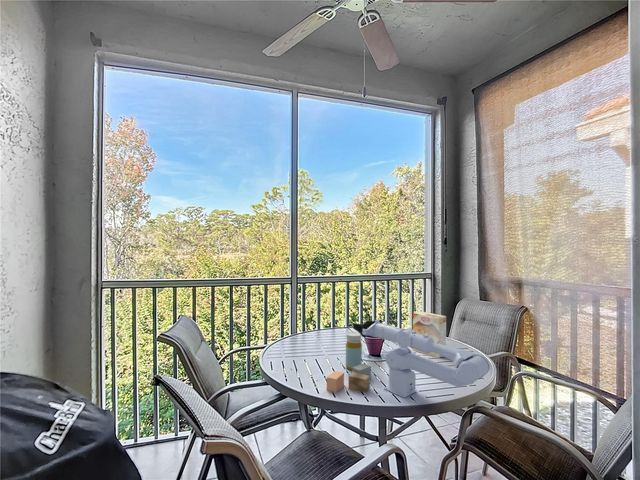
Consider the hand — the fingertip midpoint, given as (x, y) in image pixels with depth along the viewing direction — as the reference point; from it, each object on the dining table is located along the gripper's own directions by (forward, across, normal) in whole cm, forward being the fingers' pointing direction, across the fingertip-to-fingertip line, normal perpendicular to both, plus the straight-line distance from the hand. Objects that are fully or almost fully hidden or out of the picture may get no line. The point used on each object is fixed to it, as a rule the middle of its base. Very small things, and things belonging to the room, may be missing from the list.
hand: (359, 324), depth 143 cm
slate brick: (-4, +2, +21) cm, 22 cm away
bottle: (+6, -4, +21) cm, 23 cm away
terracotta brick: (-2, +16, +22) cm, 27 cm away
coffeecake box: (-6, -48, +20) cm, 52 cm away
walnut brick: (-9, +10, +21) cm, 25 cm away
